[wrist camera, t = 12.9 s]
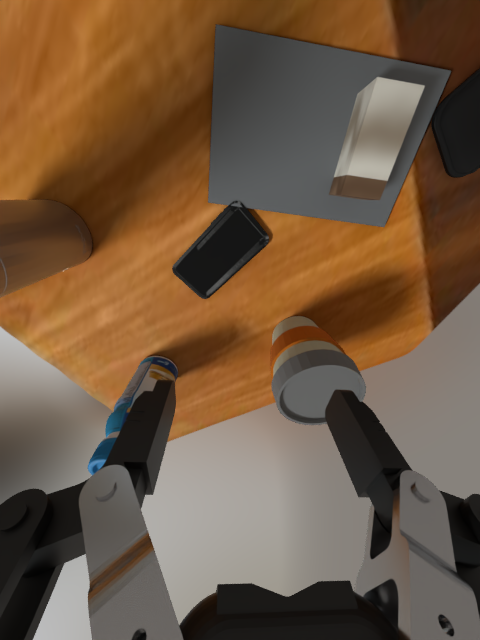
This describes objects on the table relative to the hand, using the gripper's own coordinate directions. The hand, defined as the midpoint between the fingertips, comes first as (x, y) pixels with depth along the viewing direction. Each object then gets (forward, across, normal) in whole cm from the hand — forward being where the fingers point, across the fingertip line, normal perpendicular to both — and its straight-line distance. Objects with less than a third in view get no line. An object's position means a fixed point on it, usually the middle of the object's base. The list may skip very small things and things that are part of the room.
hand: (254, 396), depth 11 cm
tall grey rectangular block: (+26, -14, -15) cm, 33 cm away
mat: (+27, -8, -16) cm, 32 cm away
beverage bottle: (+28, +14, +25) cm, 40 cm away
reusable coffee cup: (+27, -13, +14) cm, 33 cm away
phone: (+28, +3, -1) cm, 28 cm away
